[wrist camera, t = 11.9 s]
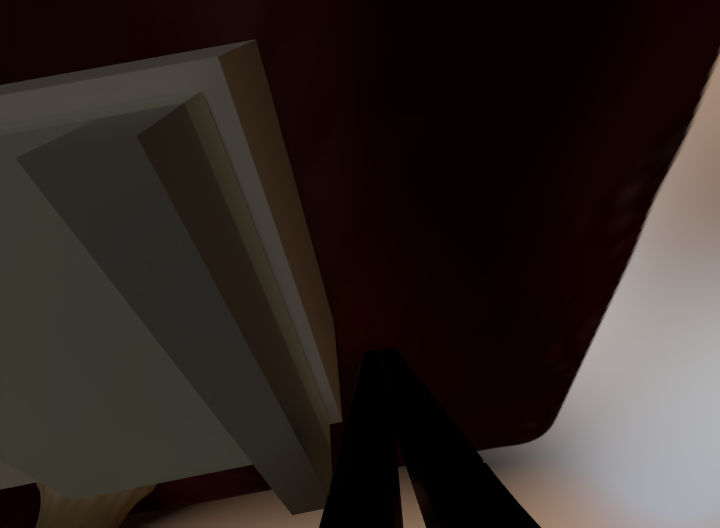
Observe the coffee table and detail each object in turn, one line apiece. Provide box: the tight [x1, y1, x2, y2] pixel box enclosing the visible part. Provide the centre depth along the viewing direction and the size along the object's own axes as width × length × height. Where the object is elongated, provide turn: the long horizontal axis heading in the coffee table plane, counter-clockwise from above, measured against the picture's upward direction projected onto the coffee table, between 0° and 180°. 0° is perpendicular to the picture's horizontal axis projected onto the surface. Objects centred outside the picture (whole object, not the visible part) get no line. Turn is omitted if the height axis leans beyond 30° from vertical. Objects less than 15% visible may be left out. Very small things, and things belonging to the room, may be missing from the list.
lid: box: [0, 90, 332, 515], centre depth 9 cm, size 10×13×3 cm
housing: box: [0, 40, 342, 489], centre depth 13 cm, size 22×14×6 cm, turn 98°
